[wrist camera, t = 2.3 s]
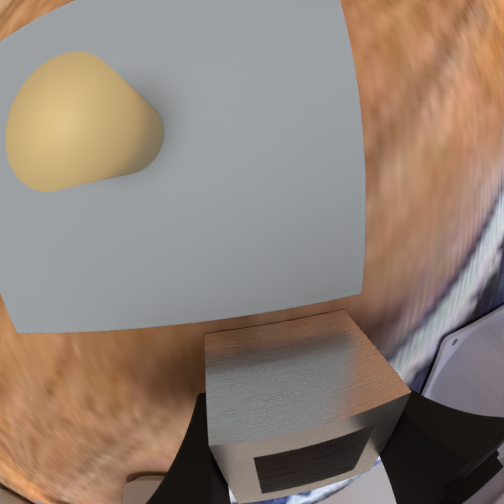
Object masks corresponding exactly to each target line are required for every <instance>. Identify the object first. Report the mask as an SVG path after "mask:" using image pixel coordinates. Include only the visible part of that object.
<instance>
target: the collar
mask: <svg viewBox="0 0 504 504" xmlns="http://www.w3.org/2000/svg"><path fill="white" fill-rule="evenodd" d="M205 377H206V404H207V424H208V440H209V447H210V449H211V451H212V454H213V456H214V458H215V460H216V462H217V464H218V466H219V468H220V470H221V472H222V474H223V476H224V478H225V480H226V482H227V484H228V486H229V487H230V489H231V491H232V493H233V495H234V497H235V498H236V500H237V502H238V504H241V503H249V502H256V501H263V500H269V499H274V498H280V497H285V496H289V495H294V494H298V493H302V492H306V491H310V490H314V489H317V488H321V487H324V486H327V485H331V484H334V483H337V482H340V481H343V480H346V479H348V478H351V477H354V476H356V475H359V474H362V473H364V472H367V471H369V470H371V468H372V467H373V465H374V463H375V462H376V460H377V458H378V457H379V455H380V453H381V452H382V450H383V448H384V447H385V445H386V443H387V441H388V439H389V438H390V436H391V434H392V432H393V430H394V428H395V426H396V424H397V422H398V420H399V418H400V416H401V414H402V412H403V410H404V408H405V405H406V403H407V401H408V399H409V396H410V394H411V390H410V389H409V388H408V387H407V385H406V384H405V383H404V382H403V380H402V379H401V378H400V377H399V375H398V374H397V373H396V372H395V370H394V369H393V368H392V367H391V366H390V364H389V363H388V362H387V361H386V359H385V358H384V357H383V356H382V355H381V353H380V352H379V351H378V350H377V348H376V347H375V346H374V345H373V344H372V342H371V341H370V340H369V339H368V338H367V336H366V335H365V334H364V333H363V332H362V331H361V329H360V328H359V327H358V326H357V325H356V323H355V322H354V321H353V320H352V319H351V318H350V316H349V315H348V314H347V313H346V312H345V311H344V309H343V310H338V311H334V312H329V313H325V314H320V315H315V316H310V317H305V318H300V319H295V320H290V321H284V322H279V323H273V324H267V325H262V326H255V327H249V328H243V329H236V330H229V331H222V332H215V333H207V334H205Z"/></svg>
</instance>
